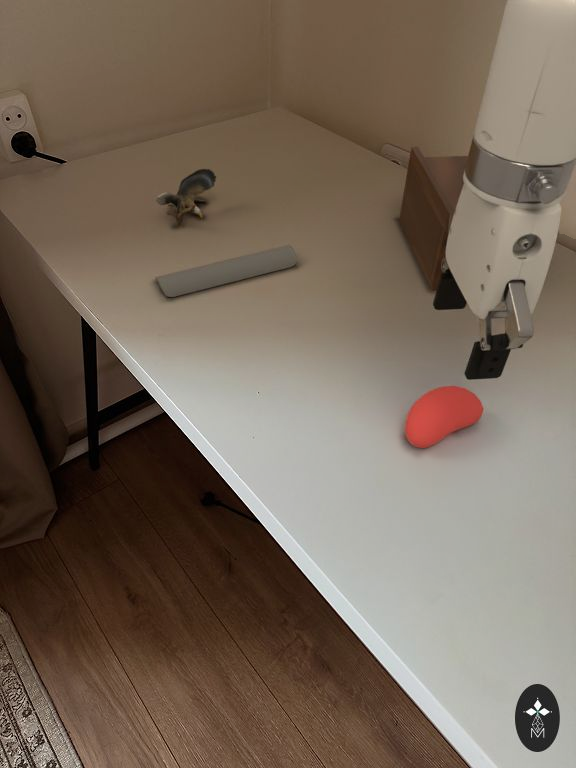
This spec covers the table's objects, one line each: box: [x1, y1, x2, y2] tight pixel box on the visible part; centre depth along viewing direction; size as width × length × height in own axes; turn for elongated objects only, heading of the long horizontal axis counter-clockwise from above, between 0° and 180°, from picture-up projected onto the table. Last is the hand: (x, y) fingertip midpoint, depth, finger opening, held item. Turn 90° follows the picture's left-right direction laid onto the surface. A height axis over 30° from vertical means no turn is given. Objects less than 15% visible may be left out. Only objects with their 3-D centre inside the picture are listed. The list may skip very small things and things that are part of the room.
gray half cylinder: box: [155, 244, 298, 298], centre depth 86 cm, size 4×20×2 cm, turn 115°
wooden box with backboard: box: [398, 146, 468, 291], centre depth 88 cm, size 12×18×12 cm, turn 7°
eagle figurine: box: [155, 168, 217, 228], centre depth 96 cm, size 8×7×9 cm
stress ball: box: [404, 385, 484, 449], centre depth 67 cm, size 5×9×6 cm, turn 110°
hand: (464, 340), depth 59 cm, fingers open, 9 cm apart
